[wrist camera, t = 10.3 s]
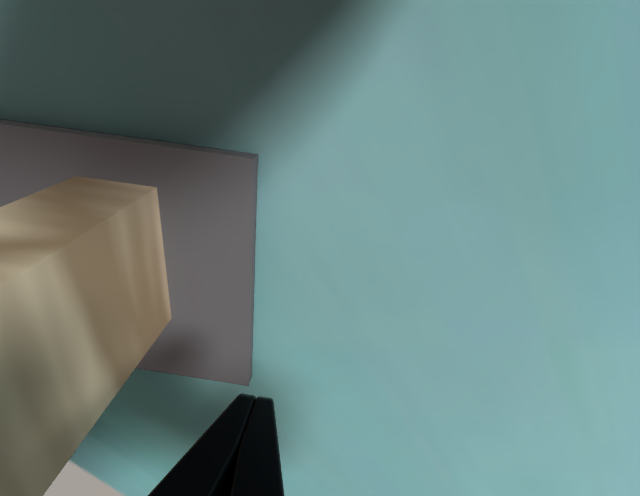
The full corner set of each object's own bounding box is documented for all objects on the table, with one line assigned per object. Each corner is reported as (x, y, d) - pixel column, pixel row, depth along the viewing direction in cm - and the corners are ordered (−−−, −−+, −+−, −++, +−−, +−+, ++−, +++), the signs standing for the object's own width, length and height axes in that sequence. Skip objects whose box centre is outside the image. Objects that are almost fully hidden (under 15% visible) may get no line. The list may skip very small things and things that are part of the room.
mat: (257, 154, 13) (253, 158, 12) (251, 376, 18) (248, 385, 17) (-173, 95, 13) (-196, 97, 13) (-57, 327, 18) (-69, 335, 18)
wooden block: (156, 187, 13) (-212, 419, 5) (171, 318, 16) (-40, 608, 7) (76, 175, 13) (-426, 383, 5) (105, 307, 16) (-176, 582, 8)
